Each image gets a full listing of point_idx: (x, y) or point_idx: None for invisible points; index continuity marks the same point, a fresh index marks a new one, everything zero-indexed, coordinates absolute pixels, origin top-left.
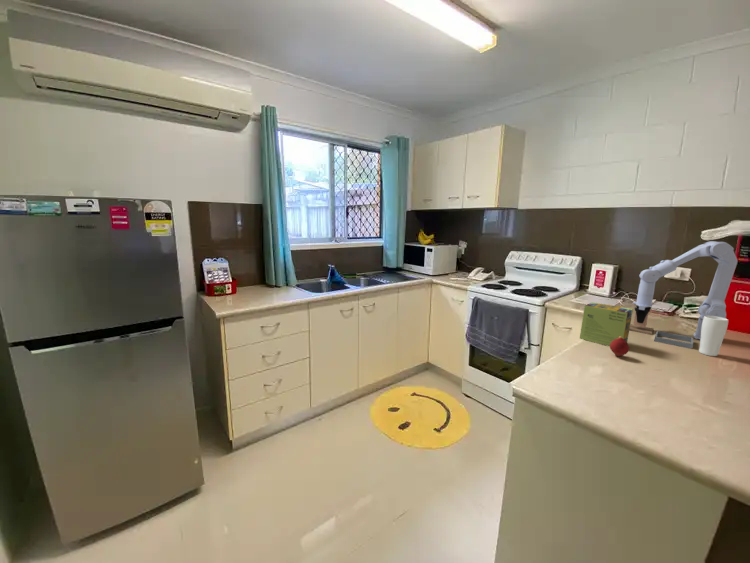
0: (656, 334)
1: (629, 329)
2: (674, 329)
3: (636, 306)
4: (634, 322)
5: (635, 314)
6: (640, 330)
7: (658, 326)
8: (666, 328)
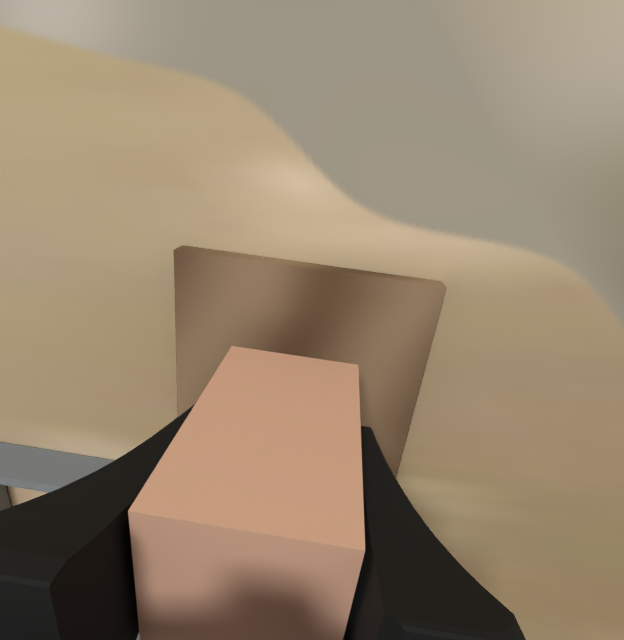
0: (46, 488)
1: (179, 291)
2: (543, 610)
3: (389, 619)
4: (220, 369)
5: (168, 450)
6: (195, 385)
7: (593, 533)
8: (544, 571)
